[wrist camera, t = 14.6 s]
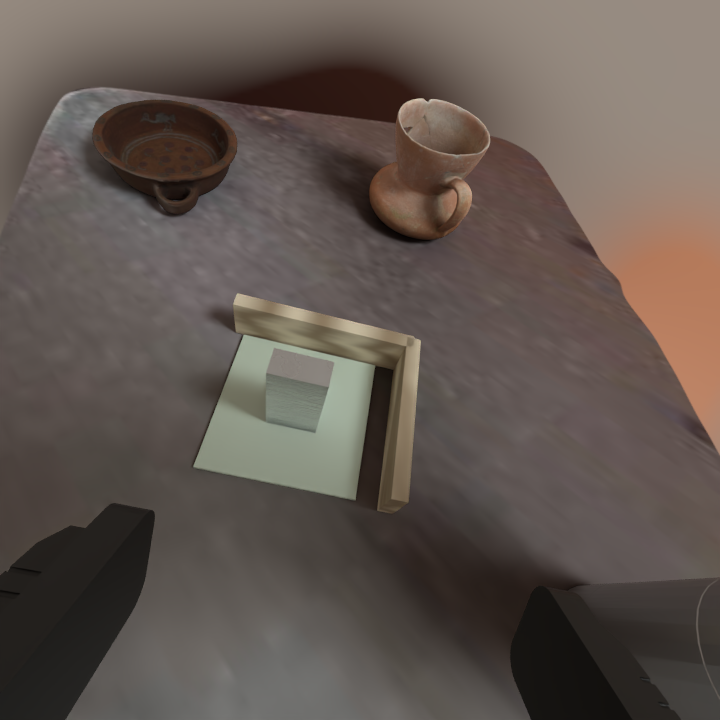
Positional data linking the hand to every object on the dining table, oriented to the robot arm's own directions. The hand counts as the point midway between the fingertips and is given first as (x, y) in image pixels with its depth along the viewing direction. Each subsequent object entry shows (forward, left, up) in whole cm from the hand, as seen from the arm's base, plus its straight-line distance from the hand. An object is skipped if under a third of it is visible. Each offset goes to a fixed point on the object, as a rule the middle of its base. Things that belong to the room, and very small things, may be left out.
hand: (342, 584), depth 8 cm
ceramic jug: (-7, -52, -29) cm, 60 cm away
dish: (+28, -49, -29) cm, 63 cm away
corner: (+1, -17, -29) cm, 33 cm away
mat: (+3, -16, -29) cm, 33 cm away
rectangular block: (+3, -17, -28) cm, 33 cm away
